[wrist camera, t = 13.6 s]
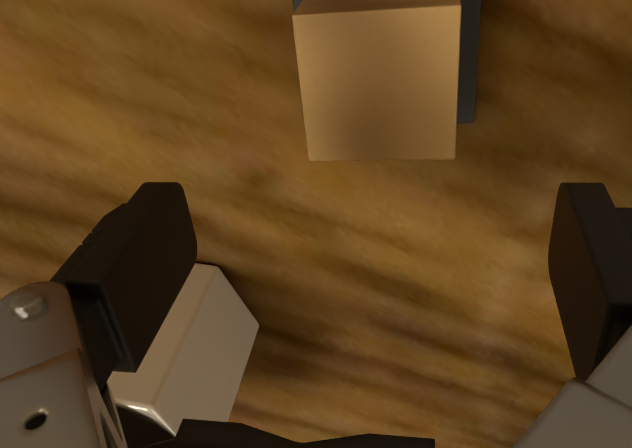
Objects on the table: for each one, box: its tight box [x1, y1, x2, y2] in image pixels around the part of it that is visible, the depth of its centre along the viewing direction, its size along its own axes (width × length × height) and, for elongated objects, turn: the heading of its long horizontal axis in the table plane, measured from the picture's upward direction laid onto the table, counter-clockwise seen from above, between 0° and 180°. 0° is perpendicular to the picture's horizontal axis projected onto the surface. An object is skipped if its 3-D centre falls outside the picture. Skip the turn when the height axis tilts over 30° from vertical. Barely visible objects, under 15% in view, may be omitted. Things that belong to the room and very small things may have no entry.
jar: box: [107, 263, 259, 448], centre depth 28 cm, size 9×8×12 cm
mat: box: [293, 0, 481, 123], centre depth 23 cm, size 7×7×1 cm
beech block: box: [292, 0, 461, 161], centre depth 20 cm, size 5×5×5 cm
